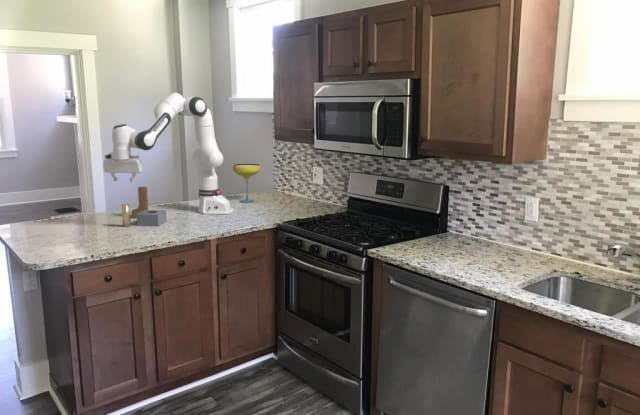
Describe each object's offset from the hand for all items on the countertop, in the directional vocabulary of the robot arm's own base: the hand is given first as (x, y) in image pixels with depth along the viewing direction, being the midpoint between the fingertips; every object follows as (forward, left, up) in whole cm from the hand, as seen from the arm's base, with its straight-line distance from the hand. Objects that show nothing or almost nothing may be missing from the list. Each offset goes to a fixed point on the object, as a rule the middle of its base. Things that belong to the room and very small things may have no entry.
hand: (123, 181), depth 280 cm
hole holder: (-11, -8, -25) cm, 28 cm away
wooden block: (+2, -22, -25) cm, 33 cm away
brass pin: (0, 0, -25) cm, 25 cm away
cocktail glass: (-49, -79, -25) cm, 96 cm away
